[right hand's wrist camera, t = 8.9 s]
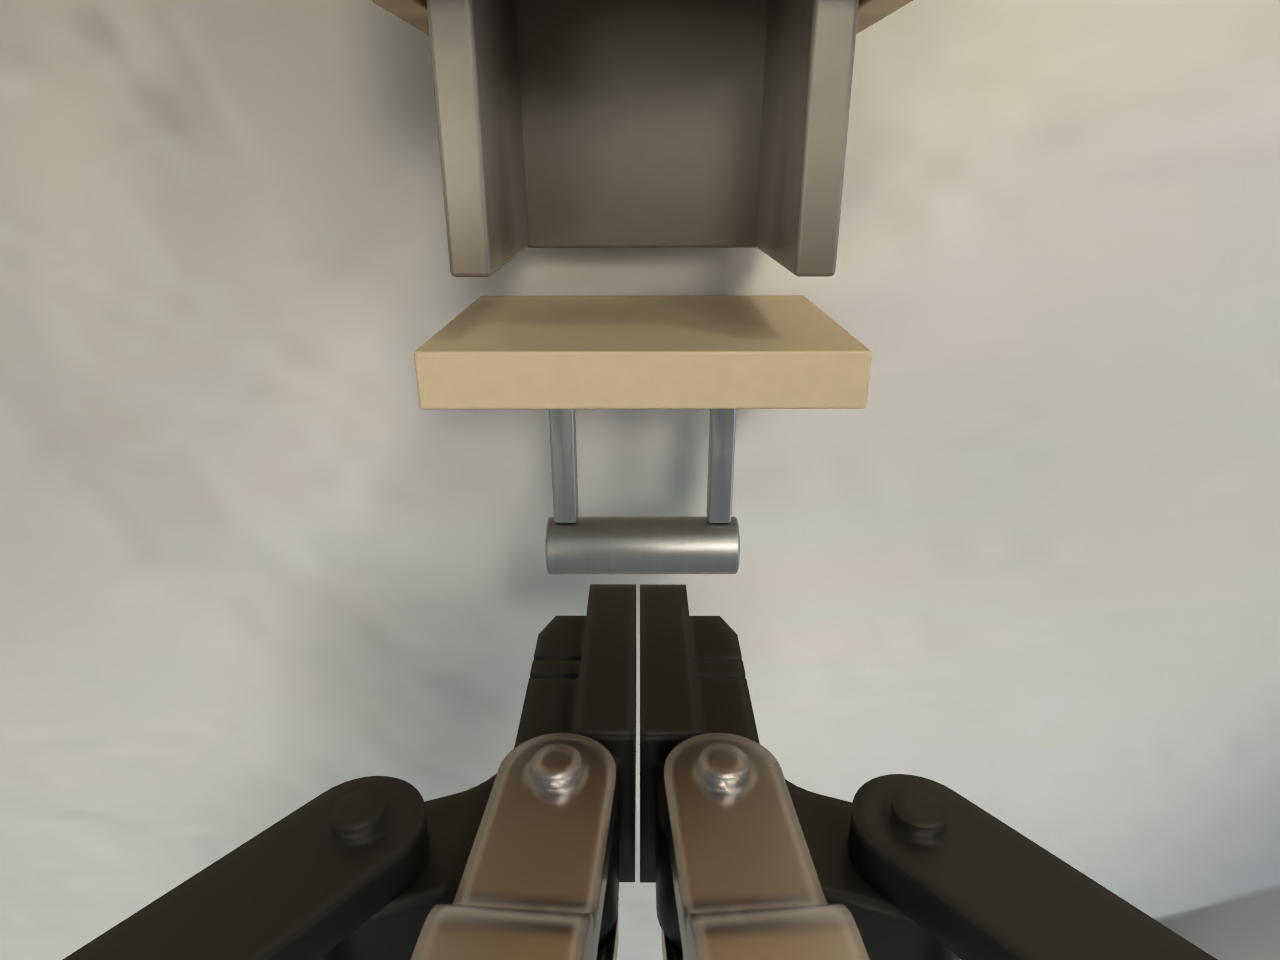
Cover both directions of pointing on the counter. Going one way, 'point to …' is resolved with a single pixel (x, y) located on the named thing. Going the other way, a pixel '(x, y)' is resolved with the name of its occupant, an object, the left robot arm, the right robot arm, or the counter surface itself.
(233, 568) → the counter surface
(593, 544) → the drawer
